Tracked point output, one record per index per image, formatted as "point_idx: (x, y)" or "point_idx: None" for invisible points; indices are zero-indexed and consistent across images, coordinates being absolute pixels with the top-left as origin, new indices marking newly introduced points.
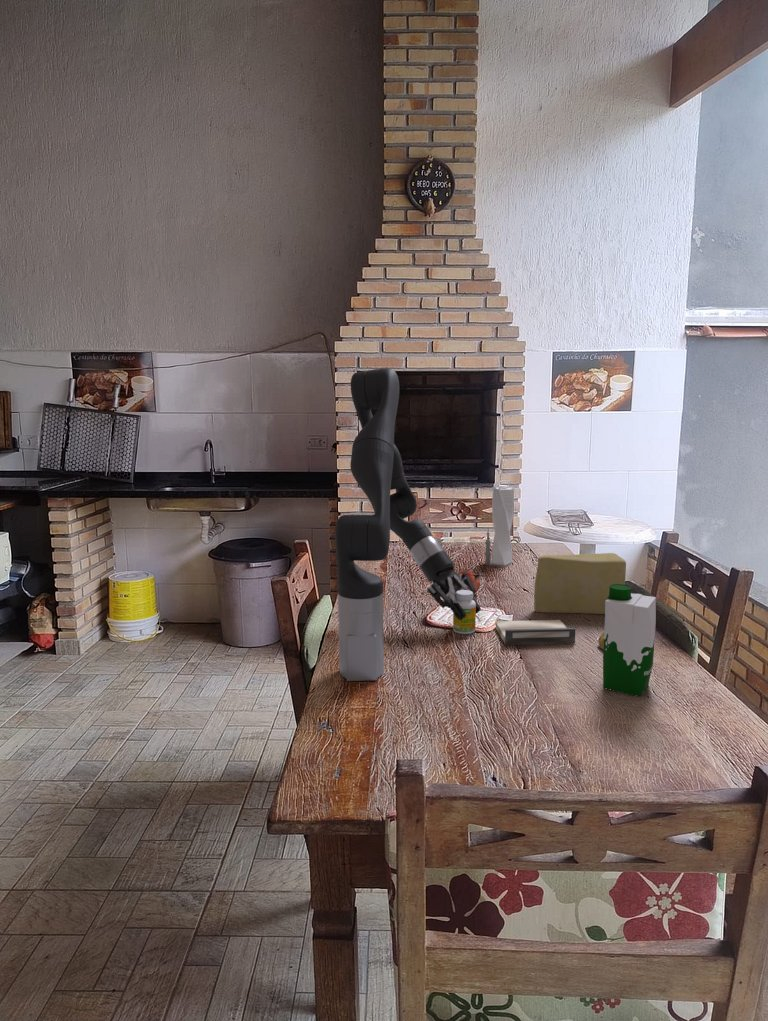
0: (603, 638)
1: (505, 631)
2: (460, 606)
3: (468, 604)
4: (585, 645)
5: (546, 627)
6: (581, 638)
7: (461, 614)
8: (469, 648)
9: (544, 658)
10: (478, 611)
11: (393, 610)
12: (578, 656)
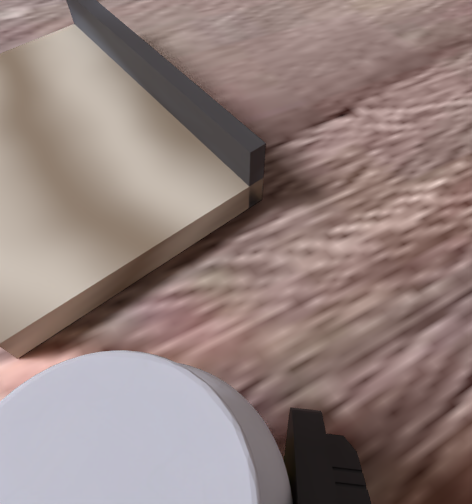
0: None
1: (252, 158)
2: (300, 479)
3: (223, 394)
4: None
5: (8, 110)
6: None
7: (333, 440)
8: (429, 316)
9: (291, 63)
10: None
11: None
12: (205, 12)
